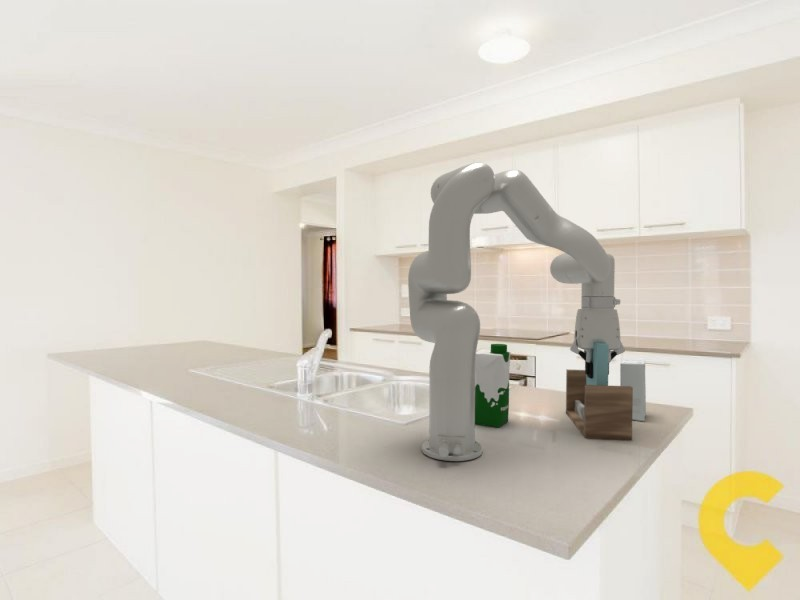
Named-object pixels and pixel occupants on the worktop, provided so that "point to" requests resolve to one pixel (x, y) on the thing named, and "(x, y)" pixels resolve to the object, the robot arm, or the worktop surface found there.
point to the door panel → (599, 365)
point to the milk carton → (492, 386)
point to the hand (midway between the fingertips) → (596, 377)
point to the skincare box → (635, 385)
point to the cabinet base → (599, 408)
